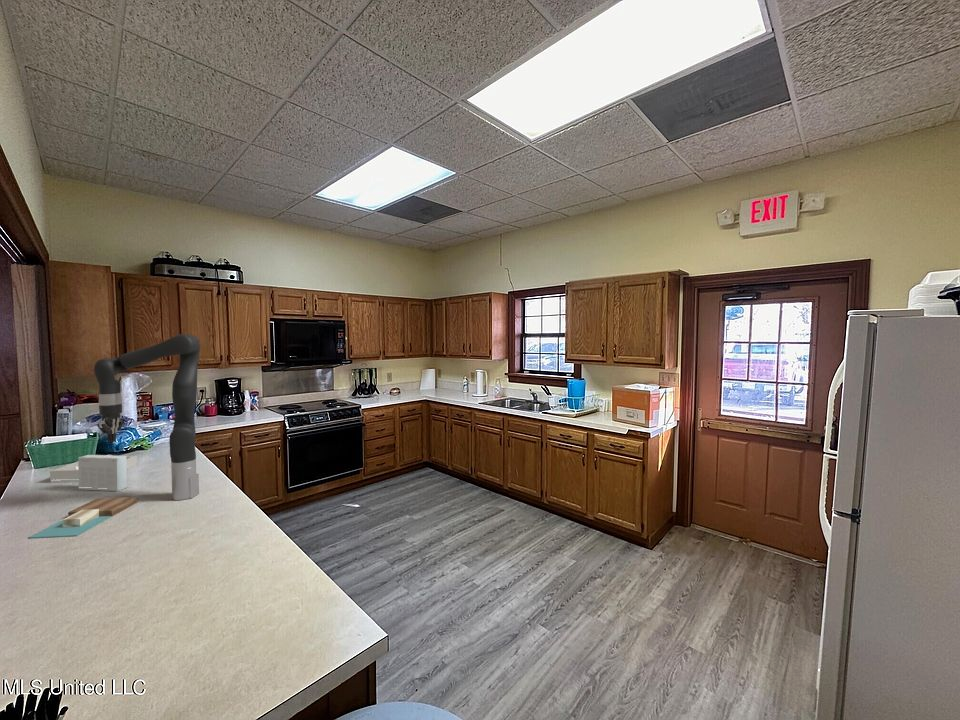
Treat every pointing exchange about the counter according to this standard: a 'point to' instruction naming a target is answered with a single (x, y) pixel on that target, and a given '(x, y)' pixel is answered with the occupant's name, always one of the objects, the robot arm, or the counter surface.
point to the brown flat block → (107, 505)
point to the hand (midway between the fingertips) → (112, 441)
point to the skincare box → (102, 472)
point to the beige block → (80, 518)
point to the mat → (68, 529)
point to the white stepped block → (72, 473)
